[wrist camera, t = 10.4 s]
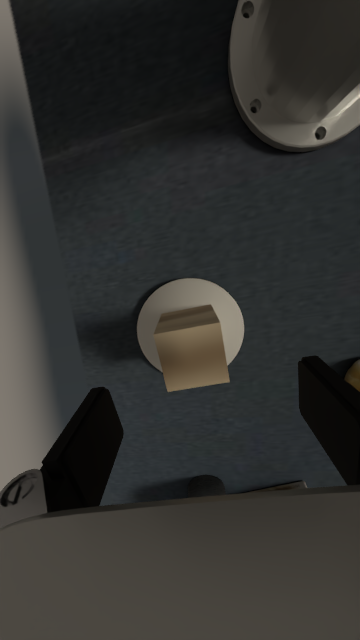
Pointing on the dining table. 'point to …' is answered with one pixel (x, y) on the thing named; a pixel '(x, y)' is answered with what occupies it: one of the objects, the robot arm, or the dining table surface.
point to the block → (191, 348)
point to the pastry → (354, 375)
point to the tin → (205, 486)
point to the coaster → (185, 297)
